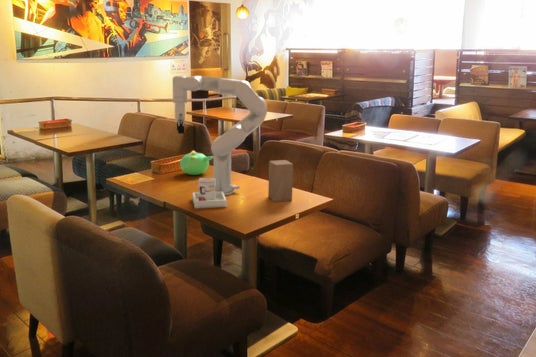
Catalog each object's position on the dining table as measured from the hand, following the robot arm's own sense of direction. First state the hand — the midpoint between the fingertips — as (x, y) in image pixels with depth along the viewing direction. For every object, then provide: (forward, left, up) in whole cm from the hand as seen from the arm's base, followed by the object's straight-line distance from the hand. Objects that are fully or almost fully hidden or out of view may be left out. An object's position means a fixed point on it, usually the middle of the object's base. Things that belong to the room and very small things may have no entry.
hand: (180, 131), depth 270 cm
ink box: (-12, +23, -33) cm, 42 cm away
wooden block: (-51, +21, -34) cm, 65 cm away
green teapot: (-10, -37, -34) cm, 51 cm away
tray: (-13, +23, -33) cm, 43 cm away
